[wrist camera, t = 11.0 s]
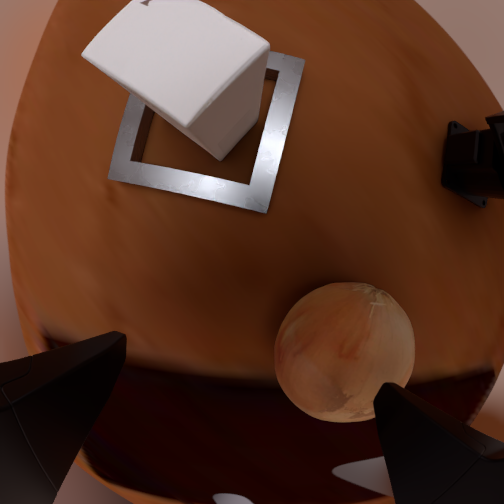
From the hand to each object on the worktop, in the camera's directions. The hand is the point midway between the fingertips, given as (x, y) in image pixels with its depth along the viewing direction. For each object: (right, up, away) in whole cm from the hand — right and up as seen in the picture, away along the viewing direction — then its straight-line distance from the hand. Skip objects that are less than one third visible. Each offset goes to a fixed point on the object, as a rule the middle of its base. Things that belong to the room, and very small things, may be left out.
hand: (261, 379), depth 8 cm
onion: (+6, -2, +14) cm, 15 cm away
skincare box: (-3, +14, +11) cm, 18 cm away
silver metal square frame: (-4, +14, +10) cm, 17 cm away
